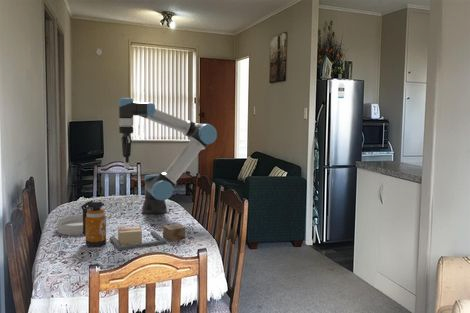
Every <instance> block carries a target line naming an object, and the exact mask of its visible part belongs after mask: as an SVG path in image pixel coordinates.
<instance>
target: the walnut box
mask: <svg viewBox="0 0 470 313" xmlns="http://www.w3.org/2000/svg"><path fill="white" fill-rule="evenodd" d="M162 230H163V231H162V238H163V239H165V240H166V241H167V242H169V243H172V242H177V241H179V242H180V241H184V240H183V239H185V240H186V227H185V226H183V225H181V224H180V223H175V224H165V225H162Z"/></svg>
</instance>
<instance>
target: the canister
mask: <svg viewBox="0 0 470 313" xmlns="http://www.w3.org/2000/svg"><path fill="white" fill-rule="evenodd" d="M103 206H105V203H104V202H102V201H93V200H90V201H87V202H85V203H84V204H82V205H81V206H80V208H81V210H82V215H83V232H82V235H84V236H85V244H86V245H87V246H89V247H99V246H102V245H104V244H106V243H107V216H106V214H105V213H106V212H105V210H104V208H102V207H103Z"/></svg>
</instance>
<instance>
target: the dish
mask: <svg viewBox="0 0 470 313" xmlns="http://www.w3.org/2000/svg"><path fill="white" fill-rule="evenodd" d="M56 222H57V223H56V224H57V227H56V230H57V233H59V234H61V235H65V234H66V235H67V236H81V235H80V234H82V232H83V214H75V215H68V216H65V217H61V218H59V219H58V220H57V221H56ZM82 235H83V234H82Z"/></svg>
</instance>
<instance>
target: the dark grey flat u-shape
mask: <svg viewBox="0 0 470 313" xmlns="http://www.w3.org/2000/svg"><path fill="white" fill-rule="evenodd" d="M150 235H151V236H152V237H154V238H155V239H156V240H154V241H153V240H152V241H147V242H142V243H139V244H128V245H121V244H120V243H119V241H118V238H116V236H115V235H112V236H109V240H110V241H111V242H112V244H113V245H114V246H115V248H116V249H117V250H118V251H124V250H125V251H126V250H131V249H139V248H144V247H146V248H147V247H152V246H159V245H165V244H167V240H166V239H165V238H163V236H161V235H160V234H159V233H158V232H157V231H155V230H151V231H150Z"/></svg>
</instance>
